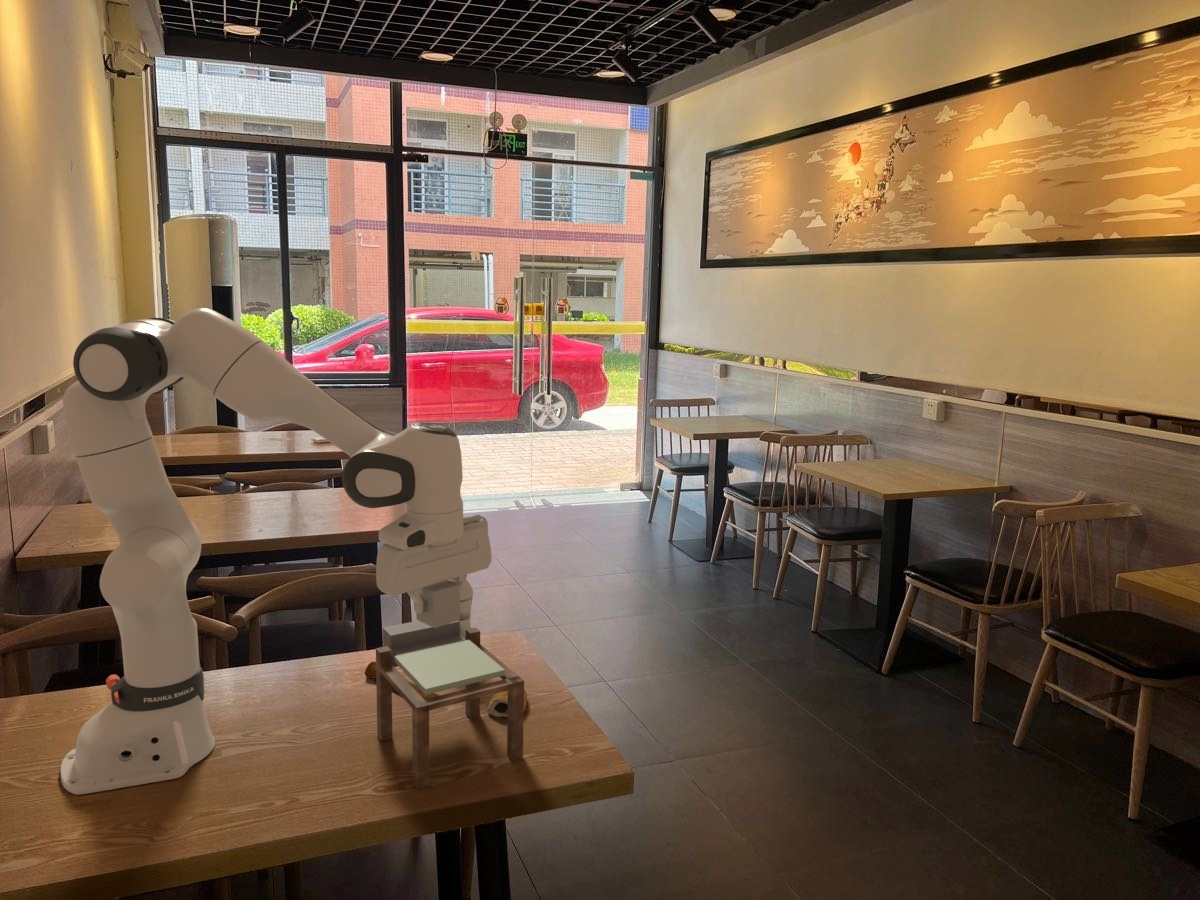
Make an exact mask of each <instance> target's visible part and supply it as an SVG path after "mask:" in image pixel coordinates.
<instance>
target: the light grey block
mask: <svg viewBox="0 0 1200 900" xmlns="http://www.w3.org/2000/svg"><path fill="white" fill-rule="evenodd" d="M419 596H420V597H421V599H422V600H424V601H427V602H428V607H427V608H428V611H427V612H424V613H421V614H418V613H416V612H415V613H416V615H415V616H416V621H421V622H423V623H425V624H427V625H429V626H431V627H433V628H437V627H440V626H443V625H446V624H449V623H452V622H454V621H457V620H460V591H459V584H457V583H454V582H452V581H449V580H446V581H443V582H439V583H436V584H433V585H429V586H426V587H422V594H419Z"/></svg>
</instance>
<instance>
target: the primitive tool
mask: <svg viewBox="0 0 1200 900" xmlns="http://www.w3.org/2000/svg"><path fill="white" fill-rule="evenodd" d="M364 675H365V677H366V678H367V679H375V680H376V661H371V662H370V663H369V664H367V666H366V668H365V671H364ZM408 683H409V684H410V685H411V686H412V687H413V688H414V689H415V690H416V691H417V692H418V693H419V694H420V696H421V697H422V698H423V699H428V698H432V697H436V696H440V695H439V694H437V693H436V692H435V693H431V694H427V695H425V694H424V693H423V692H422V691H421V690H420V688H419V687H418V686H417V685H416V684H415V683H414V682H410V681H408ZM392 691H395V692H396V693H398V692H397V691H396V689H395V688H394V687H393V686H392Z"/></svg>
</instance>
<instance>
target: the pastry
mask: <svg viewBox="0 0 1200 900" xmlns="http://www.w3.org/2000/svg"><path fill="white" fill-rule="evenodd" d="M527 696H528V695H527V692H526V690H525V689H524V711H525V710H526V707H527V704H528V703H527V702H528V697H527ZM486 709H487V712H488V713H489V715H490V716H493V717H496V718H497V717H499V718H500V717H503V716H504V717H503V718H507V712H508V690H507V691H503V692H499V693H495V694H492V695H491V697H490V699H489V704H488V707H486Z"/></svg>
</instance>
